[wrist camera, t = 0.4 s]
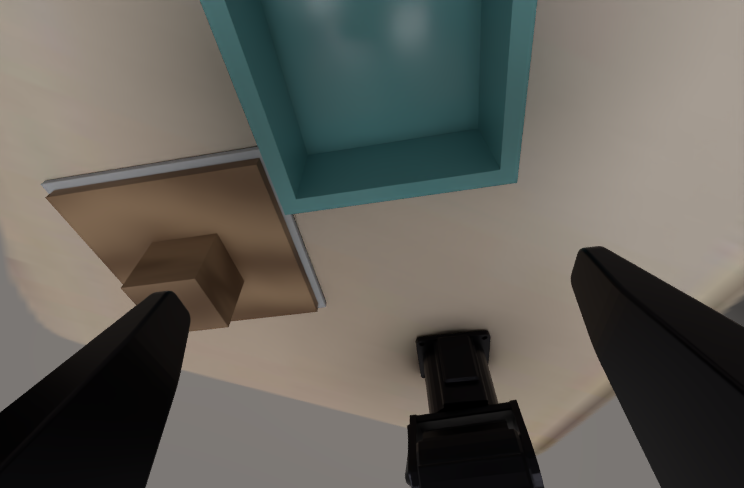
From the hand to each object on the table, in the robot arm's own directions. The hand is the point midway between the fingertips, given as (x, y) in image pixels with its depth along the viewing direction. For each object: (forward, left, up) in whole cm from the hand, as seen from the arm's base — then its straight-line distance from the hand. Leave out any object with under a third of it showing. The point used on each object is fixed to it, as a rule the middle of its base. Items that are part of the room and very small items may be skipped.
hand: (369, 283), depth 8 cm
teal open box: (+2, -1, -14) cm, 14 cm away
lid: (-9, +13, -13) cm, 21 cm away
